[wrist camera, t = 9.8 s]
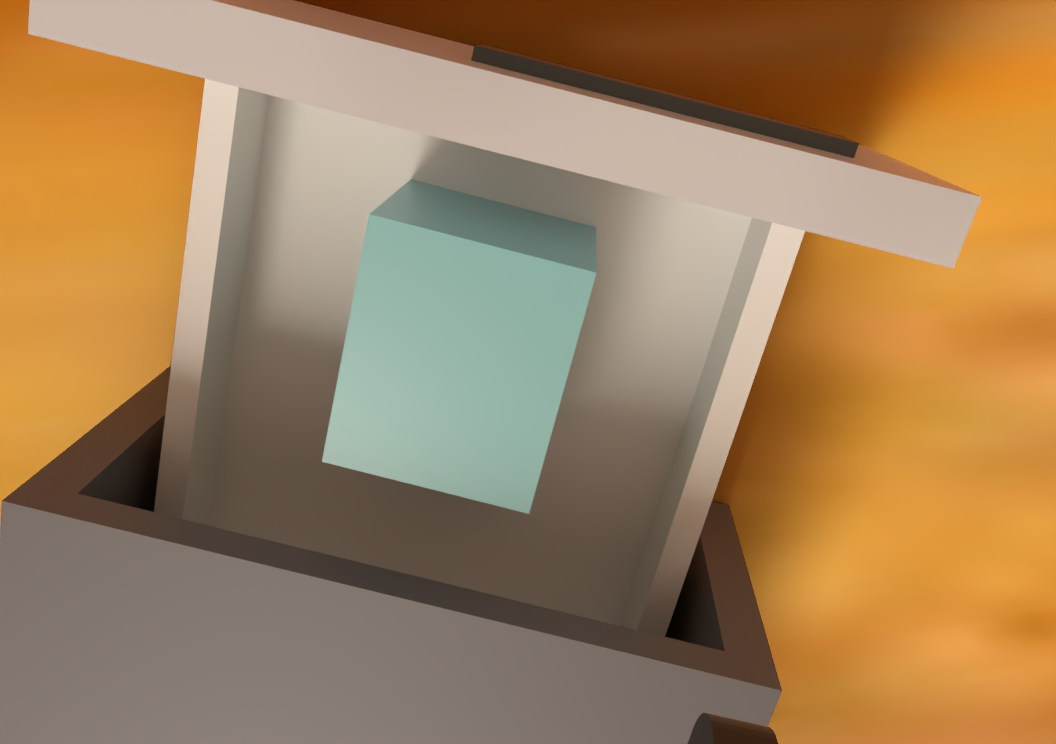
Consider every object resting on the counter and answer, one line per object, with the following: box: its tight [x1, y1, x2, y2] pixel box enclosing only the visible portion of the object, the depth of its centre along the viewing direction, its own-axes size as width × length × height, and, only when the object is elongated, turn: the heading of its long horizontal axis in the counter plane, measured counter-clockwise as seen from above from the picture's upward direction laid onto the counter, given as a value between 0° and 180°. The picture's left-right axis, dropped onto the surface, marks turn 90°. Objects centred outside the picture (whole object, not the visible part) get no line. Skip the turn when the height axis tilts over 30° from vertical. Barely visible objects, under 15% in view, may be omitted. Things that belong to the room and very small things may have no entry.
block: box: [322, 179, 597, 514], centre depth 24 cm, size 6×5×5 cm
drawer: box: [28, 0, 982, 637], centre depth 24 cm, size 16×18×8 cm
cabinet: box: [0, 367, 782, 744], centre depth 29 cm, size 16×18×9 cm
